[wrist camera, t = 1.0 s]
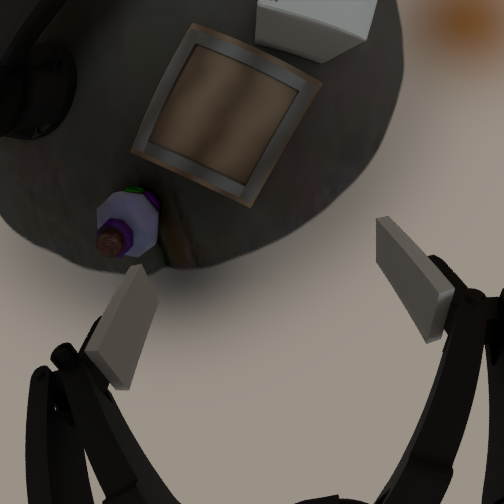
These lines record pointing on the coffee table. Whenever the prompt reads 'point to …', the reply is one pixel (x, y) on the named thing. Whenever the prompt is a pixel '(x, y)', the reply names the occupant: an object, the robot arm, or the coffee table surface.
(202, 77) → the jig plate
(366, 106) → the coffee table surface
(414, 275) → the robot arm
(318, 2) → the supplement box
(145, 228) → the potion bottle
